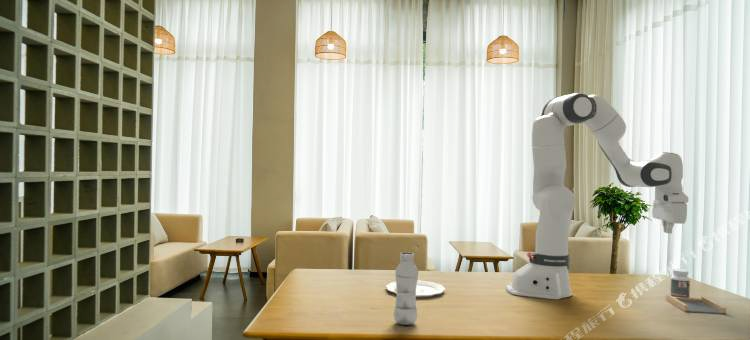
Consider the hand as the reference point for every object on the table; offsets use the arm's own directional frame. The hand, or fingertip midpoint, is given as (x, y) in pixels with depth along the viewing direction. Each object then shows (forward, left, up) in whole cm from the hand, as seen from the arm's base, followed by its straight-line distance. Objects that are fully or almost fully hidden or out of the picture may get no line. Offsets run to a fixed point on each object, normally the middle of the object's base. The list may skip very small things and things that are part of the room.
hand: (667, 233), depth 178 cm
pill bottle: (0, -11, -22) cm, 24 cm away
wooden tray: (0, -21, -22) cm, 30 cm away
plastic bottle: (-92, -59, -22) cm, 111 cm away
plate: (-92, -23, -22) cm, 97 cm away
